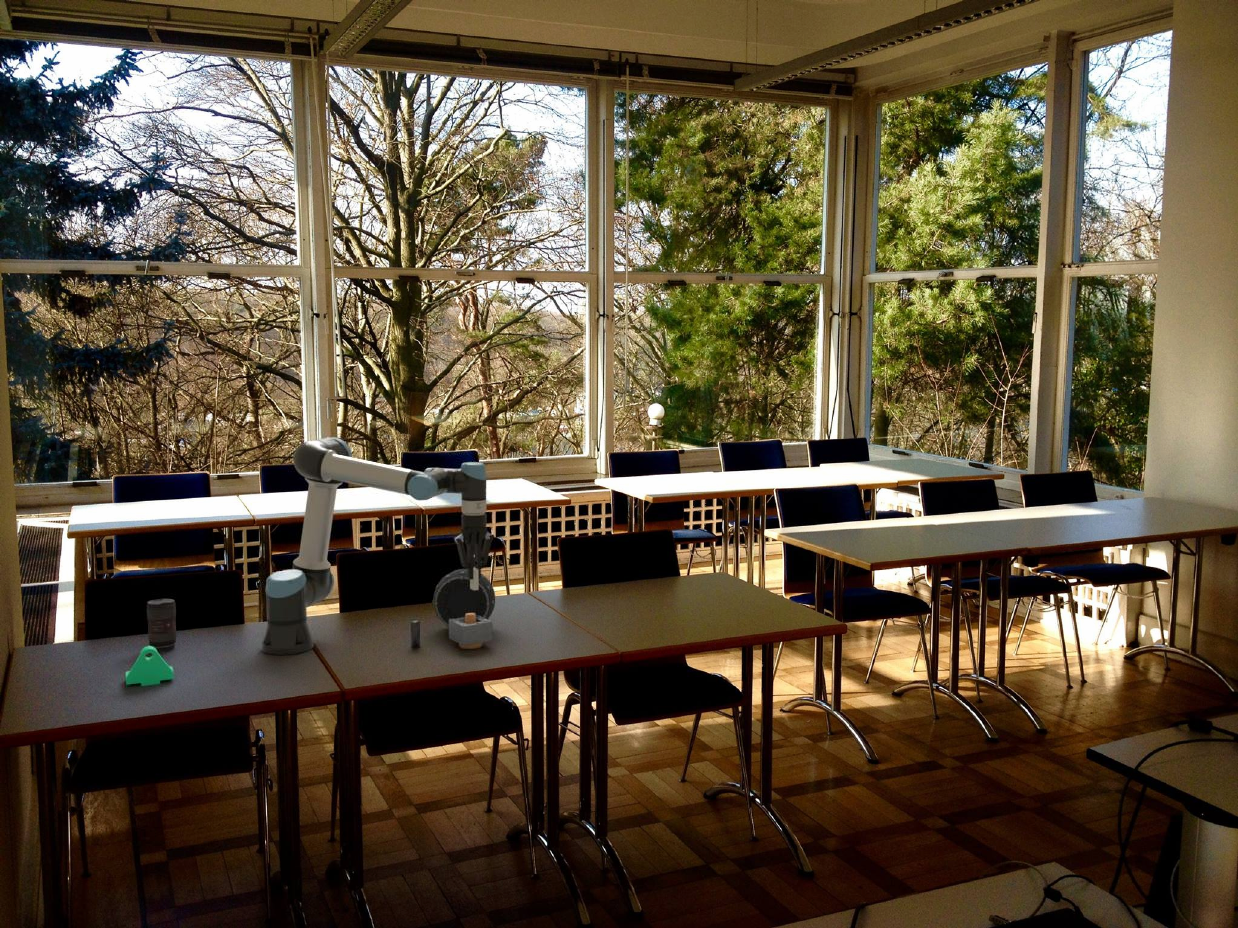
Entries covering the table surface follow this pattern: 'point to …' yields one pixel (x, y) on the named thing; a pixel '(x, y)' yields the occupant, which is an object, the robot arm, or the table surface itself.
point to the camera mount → (149, 669)
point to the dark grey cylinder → (161, 624)
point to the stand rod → (415, 634)
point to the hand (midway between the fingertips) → (474, 589)
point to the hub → (468, 619)
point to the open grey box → (470, 630)
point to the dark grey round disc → (462, 597)
